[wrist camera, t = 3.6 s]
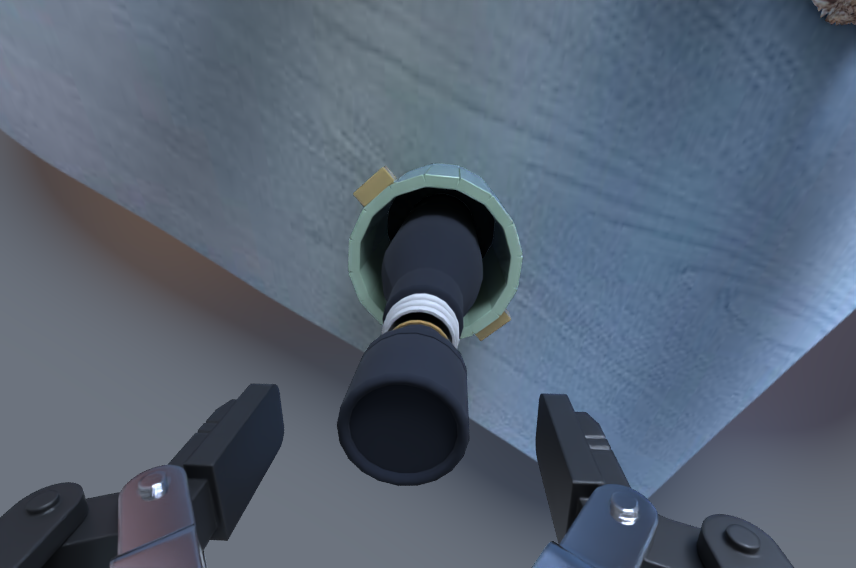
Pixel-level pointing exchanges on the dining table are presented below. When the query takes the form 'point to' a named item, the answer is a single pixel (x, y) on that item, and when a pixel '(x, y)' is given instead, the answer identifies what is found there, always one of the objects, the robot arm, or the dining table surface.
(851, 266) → the dining table surface
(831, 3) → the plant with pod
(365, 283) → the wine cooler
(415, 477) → the wine bottle
